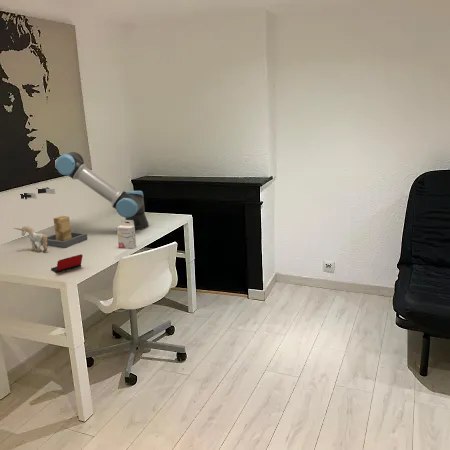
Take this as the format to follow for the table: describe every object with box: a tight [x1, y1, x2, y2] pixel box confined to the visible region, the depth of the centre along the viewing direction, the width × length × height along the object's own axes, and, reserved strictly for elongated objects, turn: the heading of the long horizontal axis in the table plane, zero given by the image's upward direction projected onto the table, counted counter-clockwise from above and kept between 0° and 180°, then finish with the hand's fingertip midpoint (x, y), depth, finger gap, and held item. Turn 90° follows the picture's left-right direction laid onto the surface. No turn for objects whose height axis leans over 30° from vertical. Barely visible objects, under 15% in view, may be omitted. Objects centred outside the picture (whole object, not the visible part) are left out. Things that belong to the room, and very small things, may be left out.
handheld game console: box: [50, 254, 83, 274], centre depth 234 cm, size 12×11×7 cm
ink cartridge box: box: [116, 219, 137, 250], centre depth 264 cm, size 9×5×15 cm, turn 71°
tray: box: [41, 231, 88, 249], centre depth 280 cm, size 18×18×4 cm
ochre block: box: [53, 215, 72, 241], centre depth 279 cm, size 6×6×14 cm
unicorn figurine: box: [13, 225, 49, 253], centre depth 266 cm, size 7×20×13 cm, turn 75°
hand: (45, 193), depth 278 cm, fingers open, 13 cm apart
